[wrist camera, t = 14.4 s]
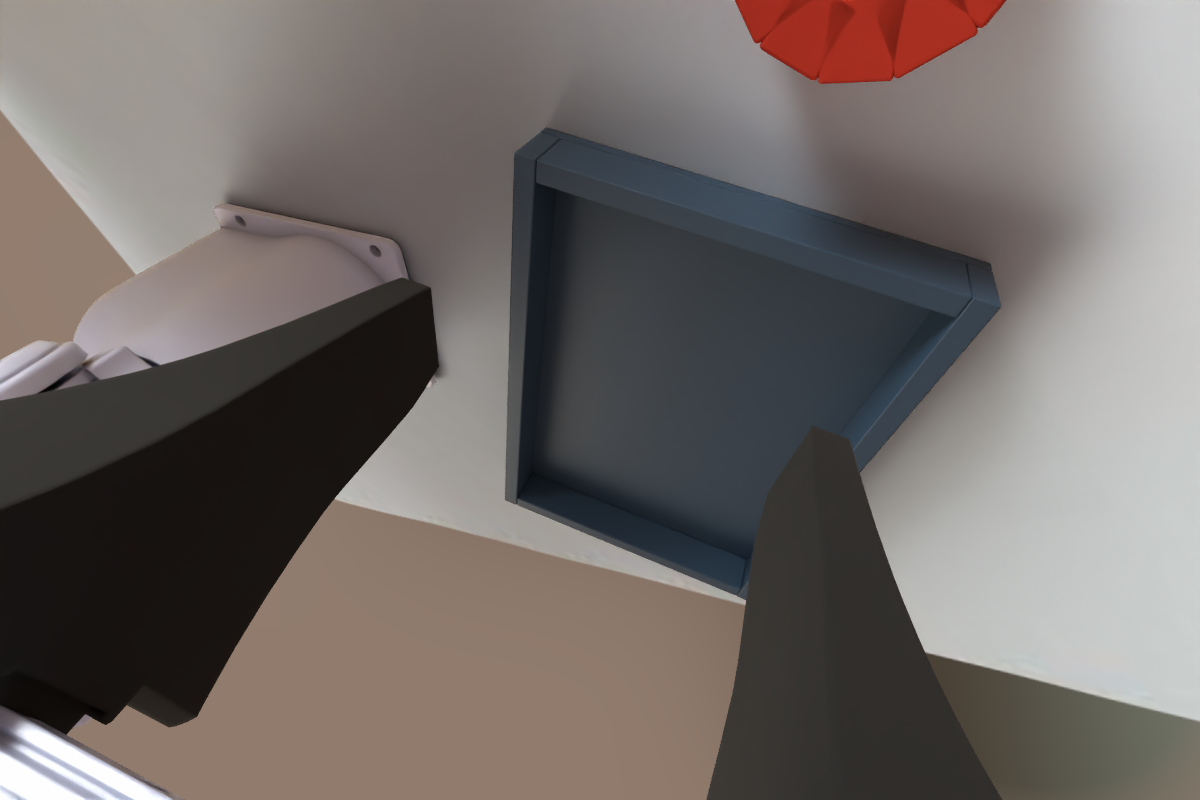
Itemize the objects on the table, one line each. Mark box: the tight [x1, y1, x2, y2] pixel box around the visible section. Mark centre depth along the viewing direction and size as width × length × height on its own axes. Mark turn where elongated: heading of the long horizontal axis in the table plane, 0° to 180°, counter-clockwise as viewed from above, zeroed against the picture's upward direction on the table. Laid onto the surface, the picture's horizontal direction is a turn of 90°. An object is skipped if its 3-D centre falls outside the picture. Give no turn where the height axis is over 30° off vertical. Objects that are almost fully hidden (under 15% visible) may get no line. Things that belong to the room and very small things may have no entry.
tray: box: [505, 128, 1001, 600], centre depth 22 cm, size 13×18×2 cm
